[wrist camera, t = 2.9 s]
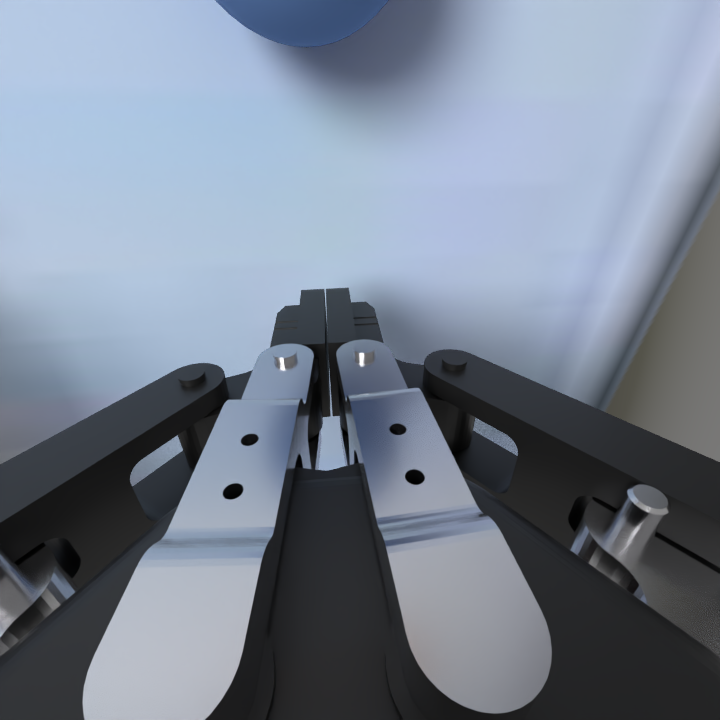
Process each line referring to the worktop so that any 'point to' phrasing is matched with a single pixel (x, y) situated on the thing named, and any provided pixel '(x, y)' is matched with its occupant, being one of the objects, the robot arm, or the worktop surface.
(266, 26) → the ball
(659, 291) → the worktop surface
